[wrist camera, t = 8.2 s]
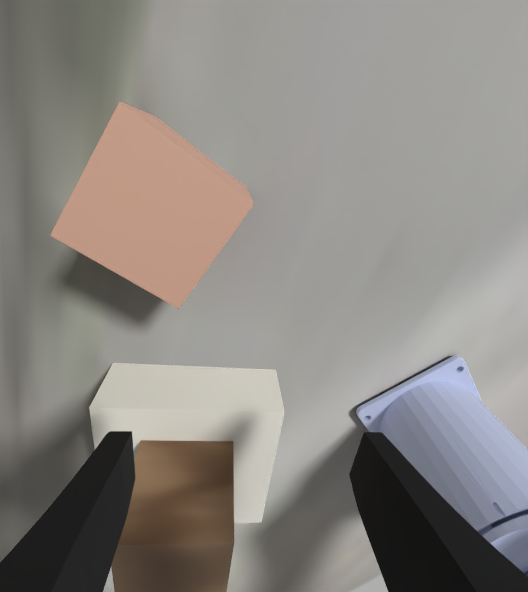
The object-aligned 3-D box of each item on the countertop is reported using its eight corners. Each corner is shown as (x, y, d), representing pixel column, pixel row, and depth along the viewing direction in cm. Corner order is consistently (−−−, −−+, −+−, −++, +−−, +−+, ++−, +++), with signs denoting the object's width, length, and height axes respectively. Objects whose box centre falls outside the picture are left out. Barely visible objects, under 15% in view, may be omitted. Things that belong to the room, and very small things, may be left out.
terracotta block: (246, 187, 16) (254, 204, 11) (191, 265, 17) (178, 308, 12) (154, 115, 14) (119, 101, 9) (102, 209, 15) (50, 235, 11)
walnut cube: (233, 441, 18) (234, 541, 13) (226, 497, 20) (224, 600, 15) (140, 440, 17) (108, 545, 13) (143, 498, 19) (117, 606, 15)
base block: (275, 366, 21) (284, 412, 17) (256, 468, 25) (261, 522, 21) (115, 358, 19) (89, 407, 16) (123, 468, 24) (104, 527, 20)
